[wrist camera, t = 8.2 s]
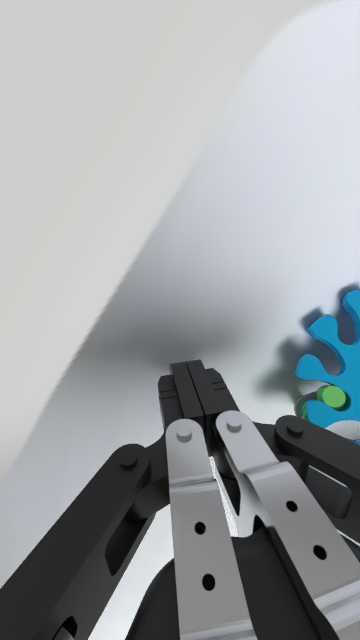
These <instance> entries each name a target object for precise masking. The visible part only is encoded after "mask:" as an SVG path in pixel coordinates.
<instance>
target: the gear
mask: <svg viewBox="0 0 360 640" xmlns="http://www.w3.org/2000/svg"><path fill="white" fill-rule="evenodd" d="M342 304H343V307H344V308H345V309H346V310H347V311H348V313H349V314H350V316H351V317H352V319H353V322H354V326H355V340H354V342H353V344H352V345H346V344H344V343H342V342H341V341H340V340H339V338H338V324H337V321H336V319H335V318H334V317H333V316H331V315H329V314H327V315H324V316H322V317H320V318H319V319H318V320H316V321H315V322H314V323H313V324H312V325H311V326H310V327H309V328H308V332H309V334H310V335H311V336H312V337H313V338H314V339H317V340H319V341H321V342H323V343H325V344H326V345H327V346H329V347H330V348H331V349H332V351H333V352H334V353H335V355H336V356H337V358H338V360H339V362H340V364H341V370H340V372H339V373H338V374H337V375H330V374H329V373H327V372H326V371H325V369H324V367H323V365H322V364H321V362H320V360H319V359H318V358H317V357H315V356H313V355H310V354H305V355H303V356H302V357H301V358H300V360H299V362H298V364H297V367H296V371H295V375H296V376H297V377H299V378H300V379H303V380H319V381H323V382H326V383H328V384H330V385H331V386H322V387H320V388H319V389H318V391H315V392H312V393H309V394H307V395H304V396H301V397H300V398H299V399H298V400H297V401H296V403H295V406H294V411H295V414H296V416H297V417H300V418H303V419H305V420H307V421H309V422H311V423H313V424H316V425H318V426H320V427H322V428H326V427H328V426H329V425H331V424H333V423H335V422H338V421H342V420H355V421H360V290H355V291H352V292H348V293H347V294H346V295H345V296H344V297H343V299H342ZM350 441H352V442H354V443H356V444H359V445H360V441H354V440H350Z"/></svg>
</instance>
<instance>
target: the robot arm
mask: <svg viewBox="0 0 360 640" xmlns="http://www.w3.org/2000/svg"><path fill="white" fill-rule="evenodd" d="M158 392H159V401H160V410H161V416H162V422H163V428H164V433H163V435H162V436H161V438H160V439H159V440H158V441H157V442H155V443H154V444H152V445H150V446H148V447H146V448H144V447H143V446H141V445H139V444H127V445H124V446H122V447H120V448H118V449H117V450H116V451H115V452H114V453H113V454H112V455H111V456H110V458H109V459H108V460H107V461H106V462H105V464H104V465H103V466H102V467H101V468H100V470H99V471H98V472H97V473H96V474H95V476H94V477H93V478H92V479H91V480H90V482H89V483H88V484H87V485H86V486H85V488H84V489H83V490H82V491H81V493H80V494H79V495H78V496H77V497H76V499H75V500H74V501H73V502H72V503H71V505H70V506H69V507H68V508H67V509H66V511H65V512H64V513H63V514H62V515H61V517H60V518H59V519H58V520H57V521H56V523H55V524H54V525H53V526H52V528H51V529H50V530H49V531H48V532H47V534H46V535H45V536H44V537H43V538H42V540H41V541H40V542H39V543H38V544H37V546H36V547H35V548H34V549H33V550H32V552H31V553H30V554H29V555H28V556H27V558H26V559H25V560H24V561H23V563H22V564H21V565H20V566H19V567H18V569H17V570H16V571H15V572H14V573H13V575H12V576H11V577H10V578H9V579H8V581H7V582H6V583H5V584H4V585H3V587H2V588H1V589H0V640H88V638H89V636H90V634H91V632H92V631H93V629H94V627H95V625H96V623H97V621H98V620H99V618H100V616H101V614H102V612H103V611H104V609H105V607H106V605H107V603H108V601H109V600H110V598H111V596H112V594H113V592H114V590H115V589H116V587H117V585H118V583H119V581H120V580H121V578H122V576H123V574H124V572H125V570H126V569H127V567H128V565H129V563H130V561H131V560H132V558H133V556H134V554H135V552H136V550H137V549H138V547H139V545H140V543H141V541H142V539H143V538H144V536H145V534H146V532H147V530H148V529H149V527H150V525H151V523H152V521H153V519H154V517H155V515H156V512H157V511H159V510H160V509H162V508H164V507H165V506H167V505H168V504H170V506H171V520H172V534H173V547H174V558H173V559H172V560H171V561H169V562H168V563H167V564H166V565H165V566H164V567H163V568H162V569H161V570H160V571H159V572H158V574H157V575H156V576H155V578H154V579H153V581H152V582H151V584H150V586H149V587H148V589H147V591H146V593H145V595H144V597H143V599H142V602H141V604H140V606H139V609H138V611H137V613H136V616H135V618H134V620H133V622H132V625H131V627H130V629H129V632H128V634H127V636H126V639H125V640H360V546H359V545H357V544H356V543H354V542H353V541H351V540H350V539H348V538H347V537H345V536H343V535H342V534H340V533H339V532H338V531H337V530H339V531H340V532H342V533H343V534H345V535H346V536H348V537H349V538H351V539H353V540H354V541H356V542H357V543H359V544H360V445H359V444H356V443H354V442H352V441H350V440H348V439H346V438H344V437H341V436H339V435H337V434H335V433H333V432H331V431H329V430H326V429H324V428H322V427H320V426H318V425H316V424H313V423H311V422H309V421H307V420H305V419H303V418H300V417H297V416H293V415H286V416H282V417H280V418H279V419H278V420H277V421H276V424H275V425H271V424H261V423H256V422H253V421H251V419H250V418H249V417H248V416H247V415H245V414H244V413H242V412H240V411H239V409H238V407H237V405H236V403H235V401H234V399H233V397H232V395H231V394H230V392H229V390H228V389H227V386H226V384H225V383H224V380H223V378H222V376H221V374H220V373H218V372H217V371H216V370H214V369H213V368H210V369H205V368H204V366H203V363H202V361H201V360H194V361H187V362H180V363H174V364H170V375H165V376H161V377H160V379H159V382H158ZM211 456H213V458H214V461H215V472H216V476H217V479H218V481H219V483H220V486H221V488H222V491H223V493H224V496H225V498H226V501H227V503H228V505H229V508H230V510H231V513H232V515H233V518H234V520H235V523H236V526H237V531H238V537H231V536H230V532H229V528H228V524H227V520H226V515H225V511H224V507H223V503H222V499H221V495H220V490H219V486H218V483H217V480H216V479H214V477H213V474H212V469H211V465H210V461H209V457H211ZM309 465H310V466H312V467H314V468H316V469H317V470H319V471H321V472H323V473H325V474H326V475H328V476H330V477H332V478H334V479H335V480H337V481H339V482H341V483H342V484H344V485H346V486H347V487H345V486H343V485H341V484H340V483H338V482H336V481H334V480H333V479H331V478H329V477H327V476H325V475H324V474H322V473H320V472H318V471H317V470H315V469H313V468H311V467H309Z"/></svg>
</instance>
